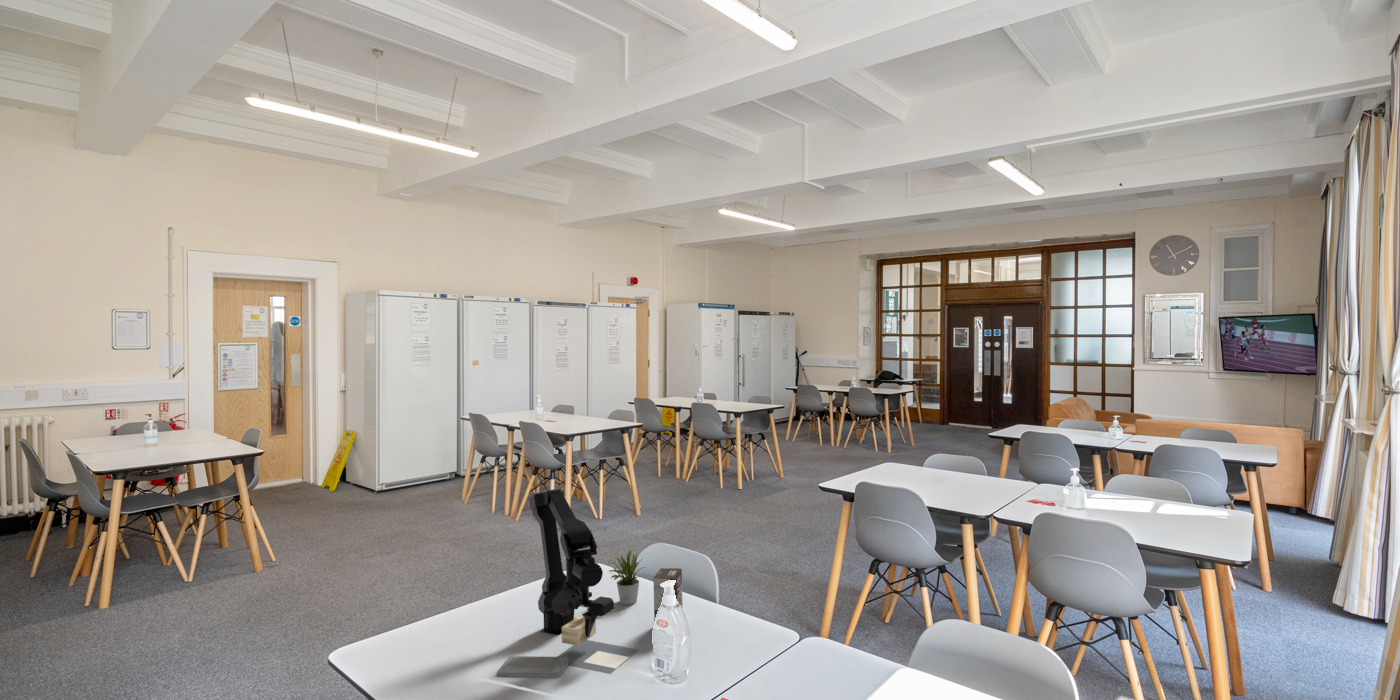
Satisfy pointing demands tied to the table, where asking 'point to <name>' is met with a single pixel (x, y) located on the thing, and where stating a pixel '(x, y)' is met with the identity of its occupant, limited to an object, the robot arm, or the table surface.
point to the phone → (533, 666)
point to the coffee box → (659, 578)
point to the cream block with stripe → (576, 631)
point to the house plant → (627, 579)
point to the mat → (598, 656)
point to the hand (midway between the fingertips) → (579, 635)
